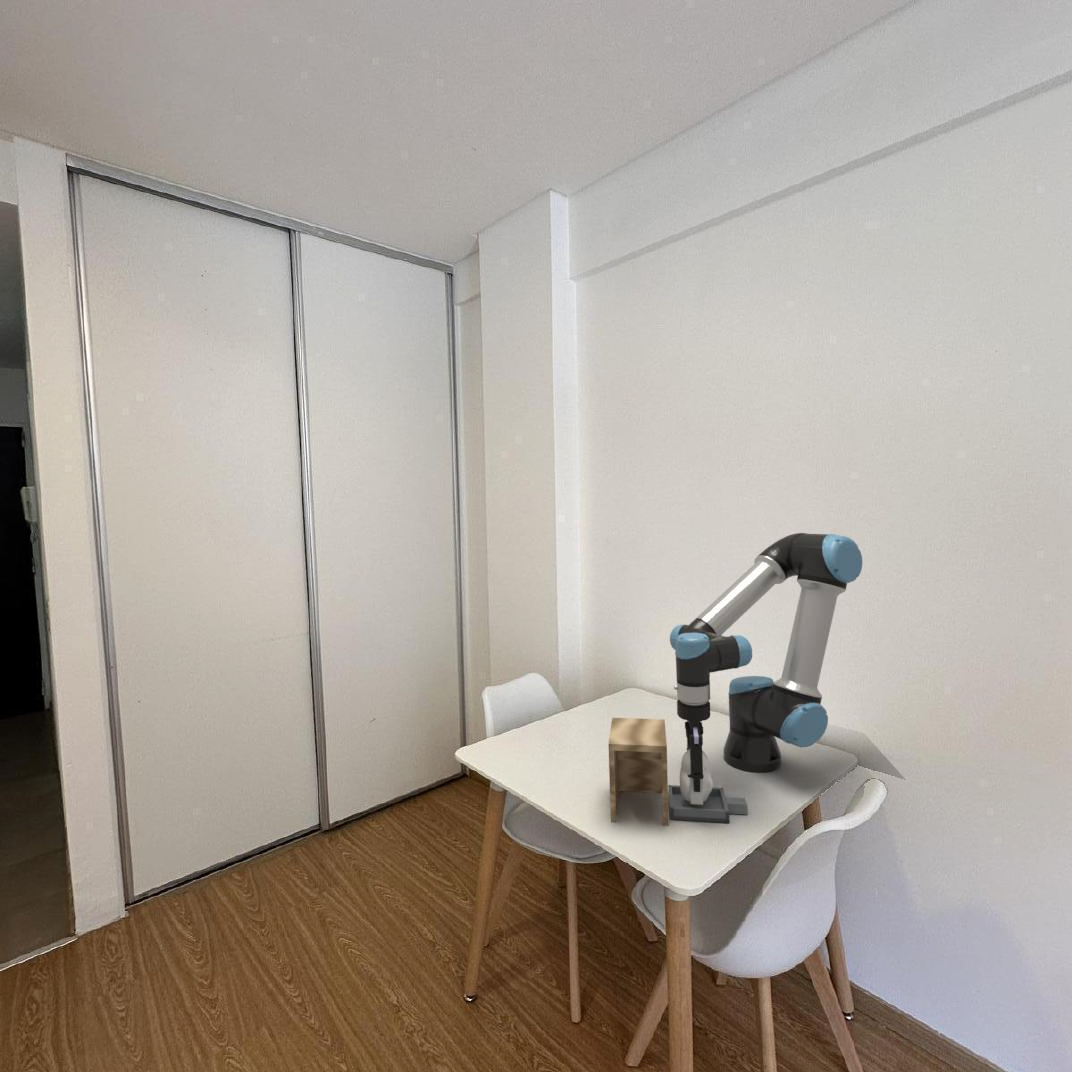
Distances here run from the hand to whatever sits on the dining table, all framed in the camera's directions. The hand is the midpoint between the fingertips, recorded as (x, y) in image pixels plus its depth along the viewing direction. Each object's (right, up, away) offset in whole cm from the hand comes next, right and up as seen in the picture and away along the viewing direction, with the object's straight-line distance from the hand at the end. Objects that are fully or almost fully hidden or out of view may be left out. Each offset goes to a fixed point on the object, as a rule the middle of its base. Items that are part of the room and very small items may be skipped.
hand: (695, 794), depth 141 cm
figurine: (0, -1, 0) cm, 1 cm away
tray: (+3, -3, 0) cm, 4 cm away
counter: (-13, -4, +3) cm, 14 cm away
